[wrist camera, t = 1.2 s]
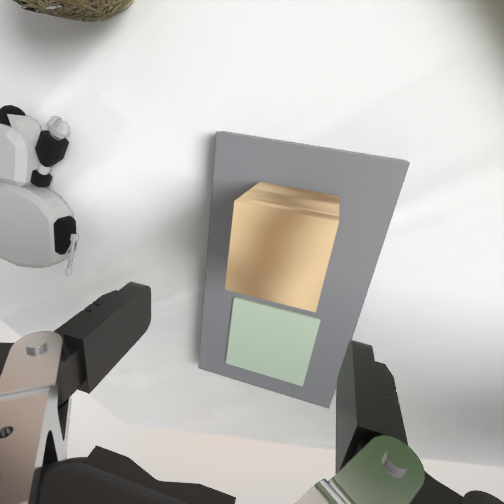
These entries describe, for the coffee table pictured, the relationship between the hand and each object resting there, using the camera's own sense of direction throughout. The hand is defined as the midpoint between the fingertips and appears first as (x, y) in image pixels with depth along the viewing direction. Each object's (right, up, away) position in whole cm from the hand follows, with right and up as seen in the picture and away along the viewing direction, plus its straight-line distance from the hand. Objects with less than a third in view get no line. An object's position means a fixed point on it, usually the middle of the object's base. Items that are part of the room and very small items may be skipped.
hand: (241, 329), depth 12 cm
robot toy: (-21, +10, +20) cm, 31 cm away
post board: (+3, 0, +17) cm, 17 cm away
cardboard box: (+4, +5, +12) cm, 14 cm away
